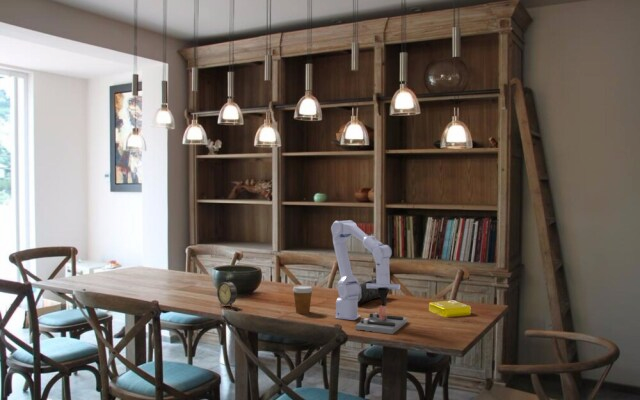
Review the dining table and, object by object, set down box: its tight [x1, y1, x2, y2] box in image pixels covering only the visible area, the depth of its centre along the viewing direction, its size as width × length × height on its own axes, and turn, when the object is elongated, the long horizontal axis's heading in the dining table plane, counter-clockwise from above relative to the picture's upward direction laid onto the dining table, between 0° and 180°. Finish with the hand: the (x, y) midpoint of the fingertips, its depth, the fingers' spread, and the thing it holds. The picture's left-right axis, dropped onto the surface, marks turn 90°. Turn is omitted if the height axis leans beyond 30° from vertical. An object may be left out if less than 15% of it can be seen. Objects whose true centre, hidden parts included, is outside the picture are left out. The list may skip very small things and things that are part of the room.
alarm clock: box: [216, 273, 238, 309], centre depth 284 cm, size 11×5×16 cm, turn 47°
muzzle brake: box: [358, 278, 381, 305], centre depth 298 cm, size 10×28×10 cm, turn 147°
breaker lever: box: [378, 304, 387, 321], centre depth 246 cm, size 1×5×6 cm, turn 156°
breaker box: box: [355, 312, 408, 335], centre depth 246 cm, size 16×22×4 cm
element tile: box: [428, 299, 472, 318], centre depth 272 cm, size 15×15×5 cm
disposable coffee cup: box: [292, 284, 314, 315], centre depth 272 cm, size 10×10×12 cm
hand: (383, 305), depth 246 cm, fingers closed, pressing on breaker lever
